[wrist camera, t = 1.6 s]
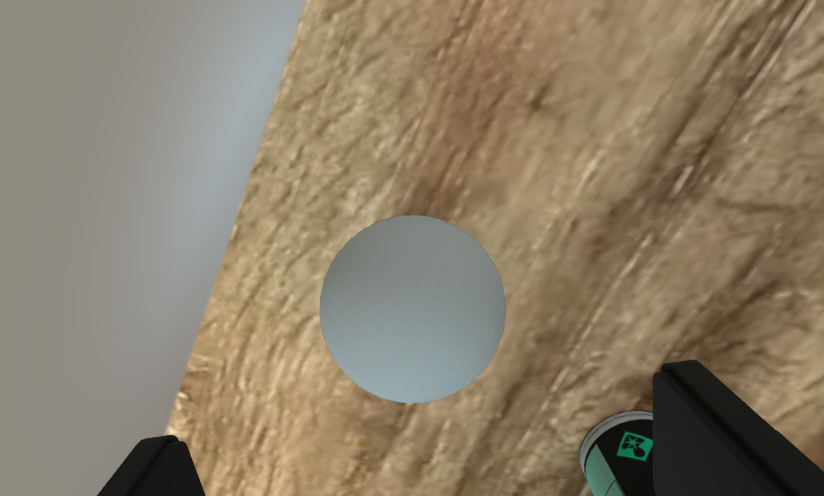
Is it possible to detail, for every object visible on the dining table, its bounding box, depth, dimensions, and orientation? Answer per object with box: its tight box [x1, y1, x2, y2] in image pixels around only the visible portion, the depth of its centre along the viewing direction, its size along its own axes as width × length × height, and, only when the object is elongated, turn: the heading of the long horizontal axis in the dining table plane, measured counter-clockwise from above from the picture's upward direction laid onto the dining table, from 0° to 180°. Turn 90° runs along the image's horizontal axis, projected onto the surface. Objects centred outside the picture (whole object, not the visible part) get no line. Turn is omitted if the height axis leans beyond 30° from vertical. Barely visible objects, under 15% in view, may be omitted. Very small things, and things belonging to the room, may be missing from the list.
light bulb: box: [320, 215, 506, 403], centre depth 17 cm, size 6×6×10 cm
